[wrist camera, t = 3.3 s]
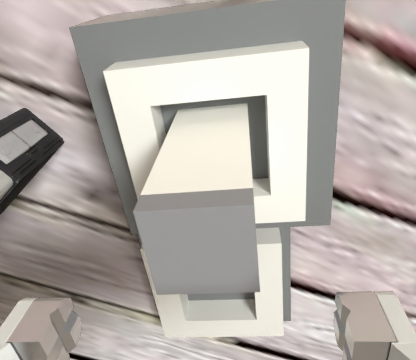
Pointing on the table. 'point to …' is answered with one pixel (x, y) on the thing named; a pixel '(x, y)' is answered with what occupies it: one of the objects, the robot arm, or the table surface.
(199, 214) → the plug
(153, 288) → the frame
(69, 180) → the table surface
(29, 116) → the camera
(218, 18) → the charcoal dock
